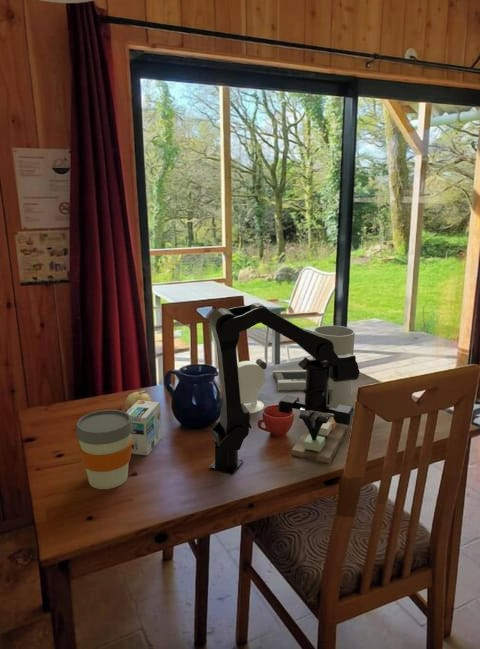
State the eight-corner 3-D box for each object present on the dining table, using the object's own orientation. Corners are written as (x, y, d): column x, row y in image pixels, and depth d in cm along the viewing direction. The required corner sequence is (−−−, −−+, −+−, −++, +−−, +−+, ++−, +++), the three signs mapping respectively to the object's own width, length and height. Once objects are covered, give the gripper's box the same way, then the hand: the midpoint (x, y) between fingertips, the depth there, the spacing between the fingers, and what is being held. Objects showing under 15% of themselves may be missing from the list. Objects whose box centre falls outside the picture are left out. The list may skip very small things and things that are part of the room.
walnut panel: (329, 463, 123) (329, 457, 123) (291, 454, 128) (291, 449, 127) (347, 430, 141) (347, 425, 141) (313, 423, 145) (313, 418, 145)
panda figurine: (257, 397, 164) (258, 354, 160) (271, 410, 154) (272, 365, 150) (223, 402, 160) (223, 358, 156) (235, 416, 150) (235, 370, 146)
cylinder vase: (349, 399, 163) (353, 326, 156) (350, 415, 151) (355, 337, 145) (311, 396, 165) (314, 324, 159) (309, 412, 153) (313, 335, 147)
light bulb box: (148, 456, 127) (146, 418, 124) (123, 453, 128) (121, 415, 125) (162, 437, 137) (161, 401, 134) (139, 434, 138) (137, 399, 135)
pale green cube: (319, 457, 126) (320, 444, 125) (303, 453, 127) (303, 441, 127) (324, 449, 130) (325, 437, 129) (308, 445, 131) (309, 434, 130)
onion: (144, 418, 148) (142, 397, 146) (121, 415, 151) (119, 393, 149) (156, 408, 156) (155, 387, 154) (134, 405, 158) (133, 384, 156)
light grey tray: (278, 382, 169) (272, 363, 185) (277, 394, 171) (272, 374, 186) (327, 381, 170) (317, 362, 186) (326, 393, 172) (316, 374, 187)
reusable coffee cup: (122, 496, 110) (118, 435, 106) (70, 490, 112) (65, 430, 108) (143, 467, 122) (140, 411, 118) (95, 462, 124) (91, 407, 120)
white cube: (326, 441, 131) (327, 429, 130) (311, 437, 133) (311, 425, 132) (331, 434, 135) (331, 422, 134) (315, 430, 137) (316, 419, 136)
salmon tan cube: (332, 435, 137) (333, 424, 136) (317, 432, 139) (318, 421, 138) (336, 429, 141) (337, 418, 140) (321, 426, 143) (322, 415, 142)
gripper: (360, 378, 127) (356, 433, 131) (292, 368, 135) (290, 420, 138) (351, 393, 117) (347, 452, 121) (278, 381, 125) (276, 437, 129)
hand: (314, 439), depth 128 cm, fingers closed, pressing on pale green cube
